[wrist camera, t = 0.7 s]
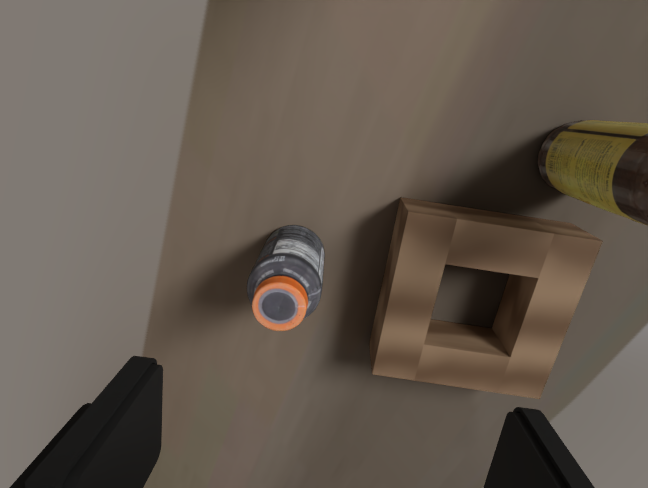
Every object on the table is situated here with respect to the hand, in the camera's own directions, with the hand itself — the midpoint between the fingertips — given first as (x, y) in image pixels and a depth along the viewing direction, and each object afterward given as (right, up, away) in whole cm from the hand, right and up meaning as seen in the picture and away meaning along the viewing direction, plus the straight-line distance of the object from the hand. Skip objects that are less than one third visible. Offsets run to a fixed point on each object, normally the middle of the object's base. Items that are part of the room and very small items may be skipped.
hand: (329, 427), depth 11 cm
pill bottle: (-3, +4, +30) cm, 30 cm away
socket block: (+14, +1, +30) cm, 33 cm away
